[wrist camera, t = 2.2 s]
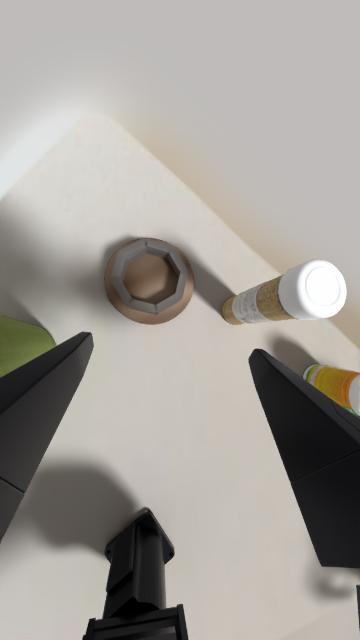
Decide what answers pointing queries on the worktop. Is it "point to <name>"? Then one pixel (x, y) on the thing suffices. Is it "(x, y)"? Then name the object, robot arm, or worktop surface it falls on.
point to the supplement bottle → (336, 385)
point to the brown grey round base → (149, 281)
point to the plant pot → (21, 343)
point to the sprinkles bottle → (290, 296)
